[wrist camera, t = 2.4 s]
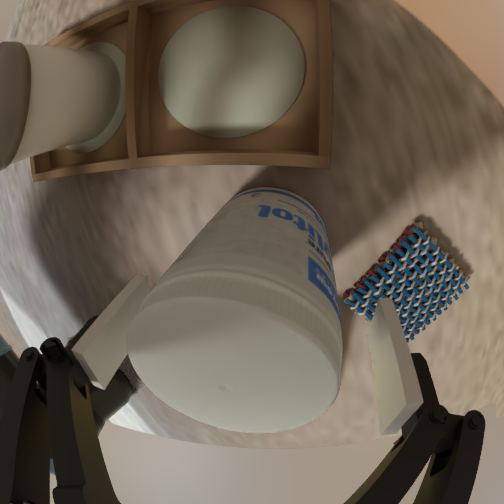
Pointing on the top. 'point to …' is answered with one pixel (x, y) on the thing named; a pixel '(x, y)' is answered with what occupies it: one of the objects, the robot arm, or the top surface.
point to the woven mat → (410, 282)
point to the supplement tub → (246, 319)
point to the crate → (208, 86)
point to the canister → (53, 98)
